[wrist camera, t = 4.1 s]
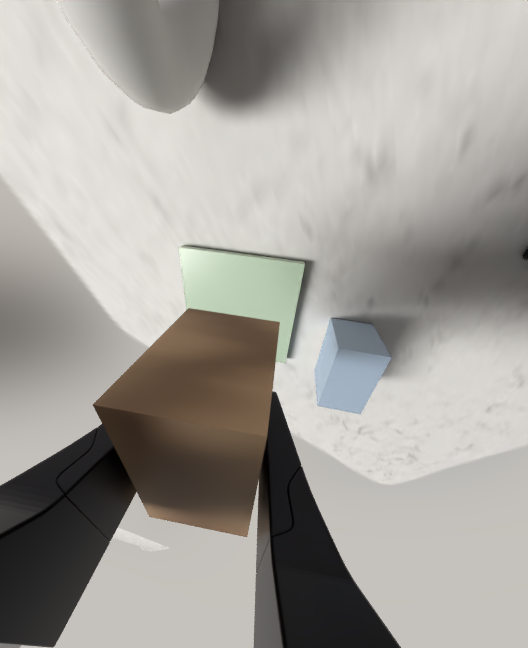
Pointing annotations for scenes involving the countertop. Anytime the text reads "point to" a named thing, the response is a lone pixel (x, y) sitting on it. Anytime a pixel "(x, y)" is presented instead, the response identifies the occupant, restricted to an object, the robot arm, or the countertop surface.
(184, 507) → the walnut brick
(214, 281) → the baseplate
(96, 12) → the donut
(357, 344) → the slate brick
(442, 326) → the countertop surface
